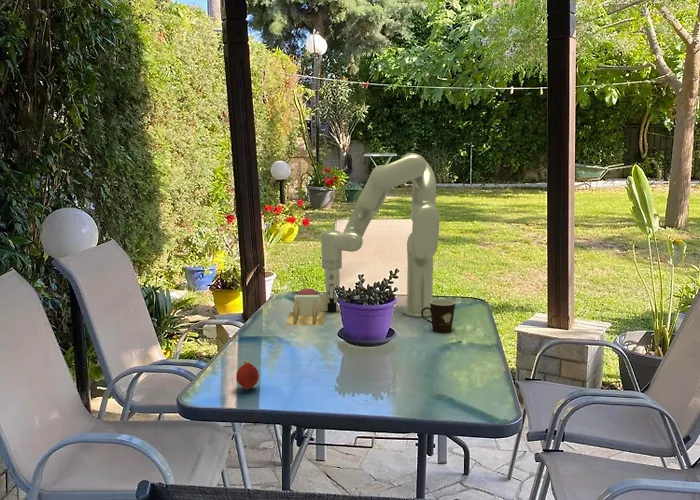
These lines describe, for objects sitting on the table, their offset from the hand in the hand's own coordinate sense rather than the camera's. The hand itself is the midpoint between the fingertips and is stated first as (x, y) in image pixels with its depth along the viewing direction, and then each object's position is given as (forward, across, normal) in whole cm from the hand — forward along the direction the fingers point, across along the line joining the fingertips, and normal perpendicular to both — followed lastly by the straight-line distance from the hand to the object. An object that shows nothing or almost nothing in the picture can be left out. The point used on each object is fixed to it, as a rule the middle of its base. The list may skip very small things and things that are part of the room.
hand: (332, 310), depth 241 cm
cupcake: (+1, +11, +10) cm, 15 cm away
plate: (0, -6, +9) cm, 11 cm away
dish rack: (+1, -11, +9) cm, 14 cm away
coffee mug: (+1, -21, -37) cm, 43 cm away
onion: (+1, -73, +20) cm, 76 cm away
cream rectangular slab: (+1, 0, 0) cm, 1 cm away
